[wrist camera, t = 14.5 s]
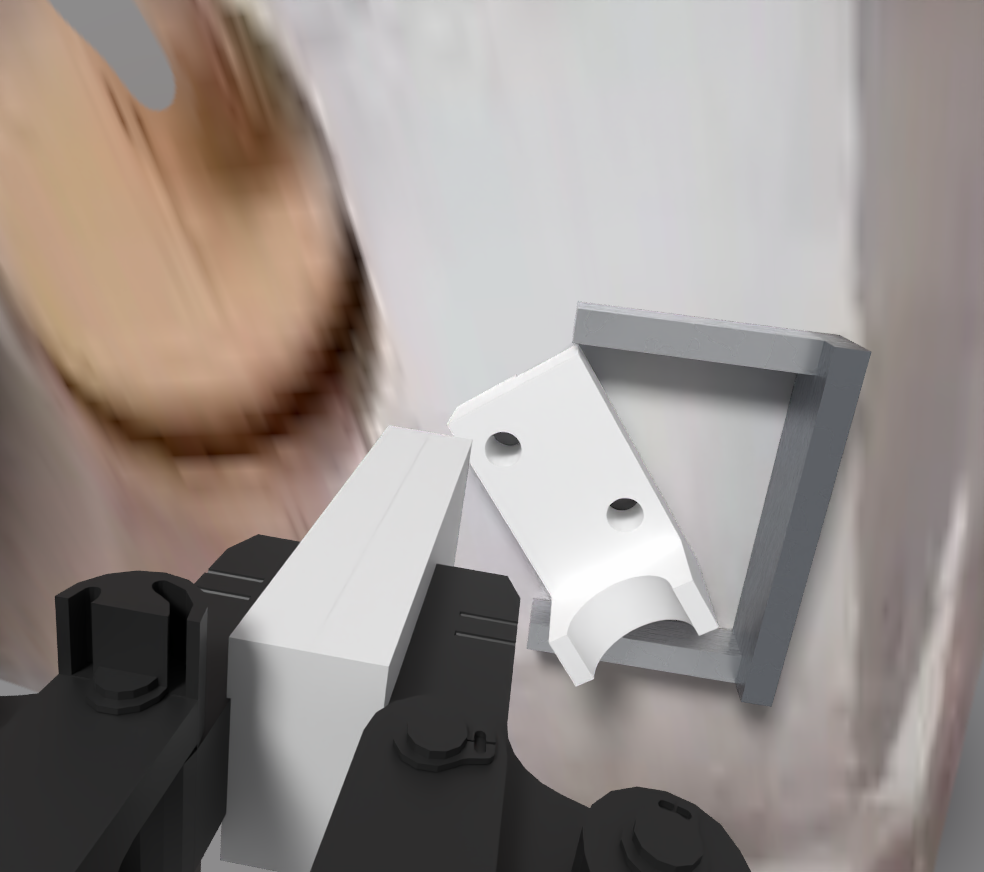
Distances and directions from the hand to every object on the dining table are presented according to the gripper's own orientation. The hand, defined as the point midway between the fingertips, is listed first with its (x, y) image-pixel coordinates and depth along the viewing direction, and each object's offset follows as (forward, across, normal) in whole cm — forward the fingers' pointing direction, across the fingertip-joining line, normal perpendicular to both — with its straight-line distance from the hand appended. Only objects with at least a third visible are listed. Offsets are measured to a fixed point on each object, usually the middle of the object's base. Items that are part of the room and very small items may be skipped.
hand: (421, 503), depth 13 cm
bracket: (+25, +5, -8) cm, 27 cm away
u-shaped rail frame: (+24, +10, -8) cm, 27 cm away
